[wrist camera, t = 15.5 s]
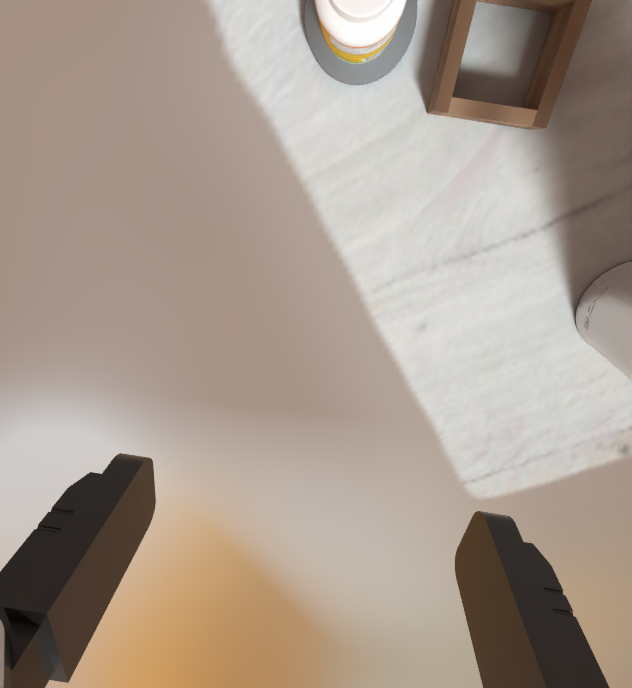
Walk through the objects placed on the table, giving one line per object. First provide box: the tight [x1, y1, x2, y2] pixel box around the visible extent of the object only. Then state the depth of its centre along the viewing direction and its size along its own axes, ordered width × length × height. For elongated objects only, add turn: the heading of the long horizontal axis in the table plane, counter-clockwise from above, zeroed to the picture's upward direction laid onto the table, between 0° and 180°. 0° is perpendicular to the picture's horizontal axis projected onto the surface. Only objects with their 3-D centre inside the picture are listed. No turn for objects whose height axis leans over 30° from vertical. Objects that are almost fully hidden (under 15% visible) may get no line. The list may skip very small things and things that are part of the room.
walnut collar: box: [427, 0, 592, 129], centre depth 28 cm, size 8×8×3 cm
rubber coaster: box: [304, 0, 417, 85], centre depth 29 cm, size 8×8×1 cm
